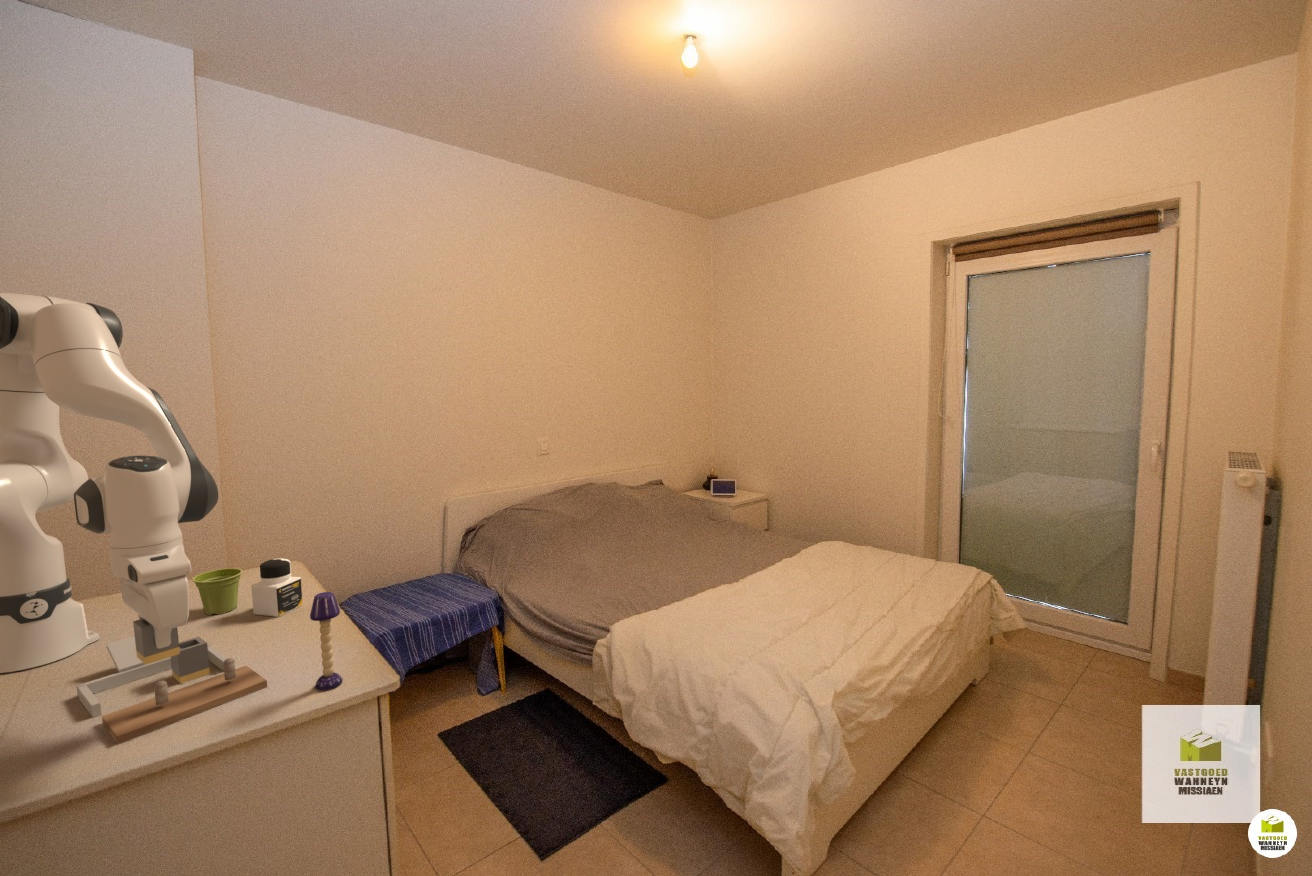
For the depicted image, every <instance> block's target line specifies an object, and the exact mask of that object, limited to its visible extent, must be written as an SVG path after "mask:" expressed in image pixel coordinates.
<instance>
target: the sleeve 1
mask: <svg viewBox="0 0 1312 876" xmlns="http://www.w3.org/2000/svg"><path fill="white" fill-rule="evenodd" d="M132 624H133V625H132V626H133V632H134V636H135V644H136V653H137V657H138V658H139V659H140V660H141V661H142V662H143V663H144V664H145V665H146V664H149V663H152V662H156V661H159V660H162V659H165V658H168V657H171V656H175V655H178V654H180V649H179V642H180V641H179V630H178V627H176V628H172V631H171V635H170V637H171V644H170V645H169V646H167V647H164V648H157V647H156V646H155V645H154V639H153V636H155V635H154V628H153V626H152V625H151V624H150V623H149V622H147V621H146V620H145V619H140V620H139V619H137V620H133V621H132Z"/></svg>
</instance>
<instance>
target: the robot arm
mask: <svg viewBox="0 0 1312 876" xmlns="http://www.w3.org/2000/svg"><path fill="white" fill-rule="evenodd" d="M123 333H124V332H123V326H122V323H121V320H120V318H119V317H118V315H117V314H116V313H115V311H113V310H112V309H109V308H108V307H105V306H103V305H102V306H101V305H99V304H95V303H91V302H86V303H84V302H80V301H76V300H73V299H72V300H71V299H67V298H61V297H57V296H50V295H44V294H43V295H34V294H25V293H12V292H0V674H3V673H11V672H12V673H13V672H17V671H23V670H28V669H32V668H36V667H40V666H43V665H47V664H50V663H53V662H56V661H58V660H59V661H60V660H62V659H65V658H67V657H69V656H72V655H74V654H75V653H78V652H79V651H80V650H82V649H83V648H84V647H86V646H88V645H89V644H92V643H94V642H96V641H99V640H100V639H101V636H100V634H99V633H98V632H95V631H92V630H89V629H88V626H87V625H88V624H87V621H86V614H85V613H86V612H85V608H84V604H83V603H82V602H81V603H80V602H79V601H76V600H74V598H72V596H73V595H72V589H73V587H72V584H71V580H70V578H68V577H67V573H66V572H67V571H66V563H65V553H64V546H63V543H62V541H60V540H59V539H58V538H57V537H54V536H52V535H50V534H46V533H45V532H44V530H42V528H41V527H40V525H39V523H38V521H37V518H36V514H37V513H42V512H47V511H50V510H55V509H58V508H61V507H63V506H64V505H66V504H69V503H71V502H73V501H74V509H75V519H76V523H77V525H78V526H79V527H82V528H84V530H87V531H89V532H92V533H94V534H110V536H109V537H110V538H109V543H108V549H109V551H108V552H109V559H110V567H111V568H110V569H111V575H112V576H113V577H115V578H120V588H121V589H120V590H121V597H122V598H121V599H122V602H123V603H124V604H125V605H126V606H127V607H128V608H129V609H130V610H132V611H133V612H135V613H136V614H137V618H138V620H140V619H145V620H146V621H147V622H149V623H150V624H151V625H152V626H153V628H154V635H155V636H153V639H154V645H155V646H156V647H157V648H164V647H167V646H169V645H170V644H171V637H170V635H171V631H172V628H176V627H177V628H178V627H182V626H185V625H186V624H187V623H188V620H189V616H190V585H189V579H188V577H187V575H190V574H191V573H192V564H191V563H192V562H191V560H190V559H189V558H188V556H187V553H186V552H185V546H184V539H183V532H182V530H181V528H180V526H179V524H183V523H192V522H193V523H194V522H200V521H201V520H203V519H205V517H207V515H209V514H210V513H211V512H212V510H214V508H215V507H216V506H217V504H218V502H219V490H218V489H219V488H218V485H217V482H216V481H215V479H214V477H213V476H212V474H211V472H210V471H209V470H208V469H207V468H206V466H205V465H204V463H202V462H201V461H200V459H199V457H198V456H197V454H196V453H195V450H194V449H193V448H192V447H193V446H191V444H190V442H189V440H188V438H187V436H186V435H185V434H184V432H183V429H182V428H181V426H180V425H179V423H178V421H177V420H176V417H175V416H174V415H173V413H172V411H171V409H170V408H169V406H168V404H166V401H165V400H164V399H163V397H162V396H161V395H160V393H158V391H156V389H153V388H151V387H148V386H146V385H144V384H143V383H142V382H140V381H139V380H138V379H137V378H135V376H133V374H132V373H131V372H130V371H129V369H128V368H127V367H126V365H125V363H124V360H123V357H122V354H121V352H120V347H121V345H122V343H123V342H122V341H123V335H124V334H123ZM60 407H61V408H62V409H64V410H66V411H68V412H71V413H74V414H75V415H76V414H77V415H81V416H84V417H89V418H95V419H102V420H106V421H111V422H116V423H120V424H122V425H126V426H129V427H131V428H133V429H136V430H138V431H140V432H141V433H143V434H144V435H145V437H146V438H148V441H149V442H150V444H151V445H152V448H153V450H154V451H155V453H156V455H157V456H155V455H129V456H123V457H122V456H121V457H118V458H115V459H111V460H110V461H109V462H107V464H105V467H104V472H103V474H101V475H98V476H96V477H93V478H89V476H88V475H89V474H88V473H87V471H86V469H85V467H84V466H83V465H82V464H81V463H80V462H79V461H77V460H75V459H74V458H73V457H72V456H71V455H70V453H69V452H68V450H67V448H66V446H65V442H64V441H63V437H62V434H61V427H60Z"/></svg>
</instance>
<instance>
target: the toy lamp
mask: <svg viewBox="0 0 1312 876" xmlns="http://www.w3.org/2000/svg"><path fill="white" fill-rule="evenodd" d="M340 613H341V609H340V606H339V605H338V602H337V599H336V597H335V594H334V592H331V591H323V592H319V593H316V594H315V595H314V597H313V601H312V605H311V609H310V614H309V618H310V620H311V621H314V622H319V625H320V626H319V633H320V638H319V639H320V642H321V644H320V649H321V653H320V654H321V655H320V656H321V659H322V662H321V664H322V668H323V669H322V675H321V676H319V678H318V679H317V680H316V682H315V686H314V687H315V688H314V689H315V690H317V691H320V692H321V691H328V690H332V689H335V688H337V687H339V686H340V685H341V684H342V683H343V678H342V676H341V675H340V674H339V673H338V672H335V668H334V666H333V665H334V658H333V655H334V651H333V649H332V648H333V642H332V637H333V636H332V633H331V631H332V626H331V621H332V620H333V619H334V618H337V617H338V616H339V615H340Z"/></svg>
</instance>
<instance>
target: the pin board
mask: <svg viewBox="0 0 1312 876" xmlns="http://www.w3.org/2000/svg"><path fill="white" fill-rule="evenodd" d="M223 665H224V671H223V673H222V674H221V673H220V674H219V675H215V676H213V677H209V678H207V679H204V680H201V681H198V682H196V683H193V684H192V683H191V684H190V685H187V686H185V687H181V688H178V689H176V690H173V691H170V692H169V691H168V690H169V689H168V682H167V681H165V680H159V681H157V682H156V683H155V684H154V685H153V687H154V688H153V690H154V698H150V699H148V700H144V701H141V702H138V703H136V704H134V705H133V704H132V705H129V706H127V707H124V708H122V709H118V710H115V711H113V712H110V713H107V714H103V715H102V716H101V720H102V725H104V727H105V728H106V730H107V731H108V732H109V733H110V735H111V736H112V737H113V739H114V741H116V742H117V744H118V745H119V744H120V745H121V744H123V743H125V742H127V741H130V740H133V739H135V738H139V736H143V735H145V734H146V735H147V734H148V733H151V732H153V731H156V730H158V729H161V728H164V727H166V726H169V725H171V724H174V723H177V722H179V721H182V720H184V719H187V718H191V717H192V716H195V715H197V714H200V713H203V712H205V711H209V710H210V709H213V708H216V707H218V706H221V705H223V704H227V703H228V702H230V701H231V702H232V701H233V700H236V699H239V698H241V697H244V696H247V695H249V694H251V693H254V692H257V691H259V690H262V689H265V688H267V687H268V680H267V679H266V678H264V677H263V676H261V675H260V674H258V672H256V671H255V670H254V669H252V668H251V667H249V666H247V665H245V666H241V667H239V668H236V662H235V659H234V658H232V657H227V659H226V660H225V661H224V663H223Z"/></svg>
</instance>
